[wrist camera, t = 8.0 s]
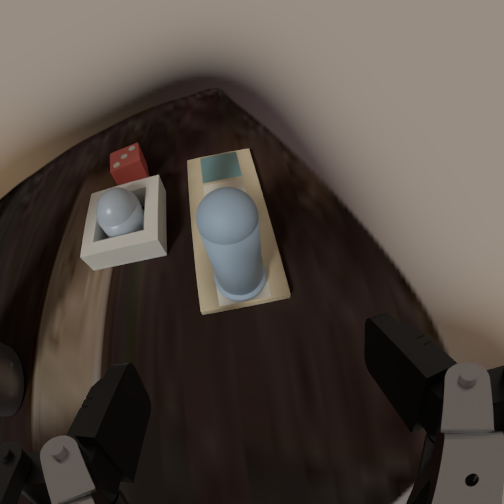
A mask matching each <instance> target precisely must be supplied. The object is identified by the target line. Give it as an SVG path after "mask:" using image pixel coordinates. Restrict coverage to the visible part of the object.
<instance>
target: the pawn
mask: <svg viewBox="0 0 504 504" xmlns="http://www.w3.org/2000/svg"><path fill="white" fill-rule="evenodd" d="M196 224H197V228H198V231H199V233H200V236H201V239H202V241H203V244H204V246H205V249H206V252H207V254H208V257H209V259H210V262H211V265H212V267H213V270H214V281H215V284H216V286H217V289H218V291H219V292H220V293H221V294H222V295H223V296H224V297H225V298H227V299H228V300H231V301H235V302H245V301H249V300H251V299H253V298H255V297H256V296H258V295H259V294H260V293H261V291H262V290H263V288H264V286H265V283H266V270H265V266H264V264H263V263H262V257H261V242H260V228H259V215H258V209H257V207H256V204H255V202H254V201H253V199H252V198H251V197H250V196H249V195H248V194H247V193H245V192H244V191H242V190H240V189H237V188H233V187H221V188H218V189H215V190H213V191H211V192H210V193H208V194H207V195H206V196H205V197H204V198H203V199H202V201H201V202H200V204H199V206H198V209H197V213H196Z"/></svg>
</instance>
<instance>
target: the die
mask: <svg viewBox="0 0 504 504" xmlns="http://www.w3.org/2000/svg"><path fill="white" fill-rule="evenodd" d="M110 173H111V175H112V177H113V178H114V180H115V182H116V184H117V185H118V186H119V185H122V184H126V183H129V182H133V181H136V180H140V179H144V178H148V177H149V173H148V167H147V163H146V161H145V158H144V156H143V154H142V151H141V149H140V146H139V144H138V143H135V144H133V145H130V146H128V147H125V148H123V149H120V150H118V151H116V152H113V153H111V154H110Z"/></svg>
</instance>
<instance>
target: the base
mask: <svg viewBox="0 0 504 504" xmlns="http://www.w3.org/2000/svg"><path fill="white" fill-rule="evenodd" d="M115 187H120V188H124V189H126V190H128V191H129V192H132V193H133V194H135V195H136V197H137V199H138V201H139V202H140V204H141V206H142V207H143V206H145V210H144V230H141V231H137V232H133V233H129V234H125V235H120V236H116V237H112V238H108V239H107V237H108V235H107V234H106V233H105V232H104V230H103V229H102V228H101V226H100V225H99V224H98V222H97V214H96V205H97V202H98V200H99V198H100V196H101V195H102V194H103V193H104V192H105V191H107V190H109V189H111V188H108V189H105V190H102V191H99V192H95V193H92V194H91V198H90V203H89V207H88V212H87V218H86V223H85V229H84V234H83V241H82V247H81V254H80V258H81V259H82V260H83V261H84V262H85V263H86V264H87V265H88V266H89V267H90V268H92V269H93V270H99V269H104V268H108V267H113V266H118V265H123V264H127V263H132V262H137V261H142V260H146V259H151V258H156V257H161V256H166V255H167V234H166V191H165V188H164V186H163V183H162V181H161V179H160V176H159V175H155V176H152V177H148V178H144V179H140V180H136V181H133V182H129V183H126V184H122V185H119V186H115ZM115 187H112V188H115Z"/></svg>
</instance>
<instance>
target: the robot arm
mask: <svg viewBox="0 0 504 504" xmlns="http://www.w3.org/2000/svg"><path fill="white" fill-rule="evenodd" d="M364 356H365V363H366V366H367V369H368V371H369V372H370V374H371V375H372V377H373V378H374V380H375V381H376V382H377V384H378V385H379V387H380V388H381V390H382V391H383V392H384V394H385V395H386V397H387V398H388V400H389V401H390V402H391V404H392V405H393V407H394V408H395V410H396V411H397V413H398V414H399V416H400V417H401V418H402V420H403V421H404V423H405V424H406V426H407V427H408V429H409V430H410V432H411V433H414V432H416V431H418V430H420V429H422V428H424V429H425V431H426V432H427V434H426V437H425V441H424V446H423V451H422V455H421V460H420V464H419V468H418V472H417V476H416V480H415V483H414V486H413V489H412V491H411V494H410V496H409V498H408V501H407V503H406V504H501V502H502V495H503V483H504V366H501V367H497V368H494V369H490V370H486V369H484V368H483V367H482V366H480V365H478V364H475V363H471V362H463V363H458V364H457V363H456V362H455V361H454V360H453V359H452V358H451V357H450V356H448V355H447V354H446V353H445V352H444V351H443V350H442V349H441V348H439V347H438V346H437V345H436V344H435V343H434V342H431V340H430V339H429V338H428V337H427V336H424V334H423V333H422V332H421V331H420V330H419V329H417V328H416V327H415V326H412V325H410V324H407V323H404V322H401V323H399V322H398V321H397V320H395V319H394V318H393V317H392V316H391V315H390V314H388V313H384V314H381V315H377V316H374V317H371V318H368V319H366V322H365V353H364ZM23 393H24V374H23V369H22V365H21V362H20V359H19V357H18V355H17V354H16V352H15V351H14V350H13V349H12V348H11V347H9V346H7V345H5V344H3V343H1V342H0V416H6V417H7V416H11V415H13V414H15V413H16V411H17V410H18V409H19V407H20V405H21V402H22V399H23ZM150 413H151V402H150V398H149V396H148V394H147V392H146V390H145V388H144V385H143V383H142V381H141V379H140V377H139V375H138V373H137V371H136V369H135V367H134V365H133V364H131V363H124V364H112V365H110V366H109V368H108V370H107V372H106V374H105V375H104V377H103V379H100V380H99V381H98V382H97V383H96V384H95V385H94V386H92V387H91V389H90V391H89V393H88V395H87V396H86V399H85V400H84V402H83V404H82V408H80V410H79V411H78V413H77V415H76V417H75V419H74V421H73V423H72V425H71V427H70V429H69V431H68V433H67V435H66V436H58V437H55V438H52V439H51V440H49V441H48V442H47V443H46V444H45V445H44V446H43V448H42V450H41V452H32V453H26V452H25V451H24V450H23V449H22V448H21V446H20V445H19V444H18V443H16V442H14V441H7V442H4V443H2V444H1V445H0V504H17V502H18V499H19V496H20V494H21V493H22V494H23V495H24V496H26V497H27V498H28V499H29V500H30V501H31V504H129V503H128V502H127V500H126V498H125V497H124V495H123V493H122V492H121V491H120V490H119V485H120V482H126V483H134V479H135V474H136V470H137V465H138V461H139V457H140V452H141V448H142V444H143V440H144V436H145V432H146V428H147V424H148V421H149V417H150Z"/></svg>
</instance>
